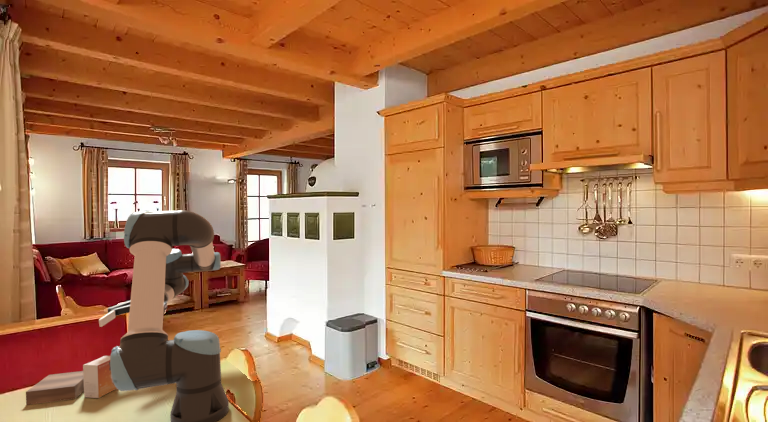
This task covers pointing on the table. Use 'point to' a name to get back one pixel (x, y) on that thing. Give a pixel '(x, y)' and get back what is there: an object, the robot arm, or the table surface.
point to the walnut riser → (56, 388)
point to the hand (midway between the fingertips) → (118, 325)
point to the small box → (98, 378)
